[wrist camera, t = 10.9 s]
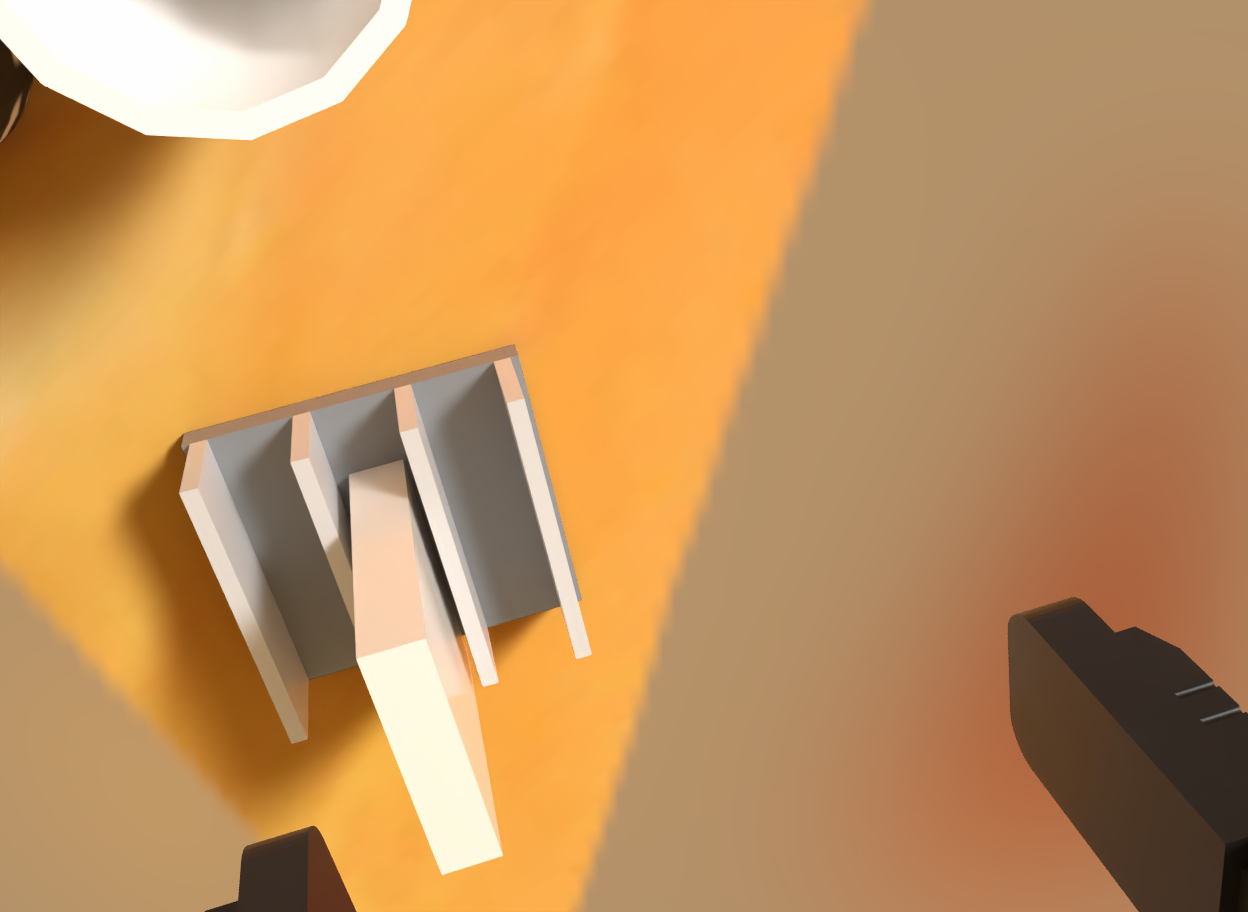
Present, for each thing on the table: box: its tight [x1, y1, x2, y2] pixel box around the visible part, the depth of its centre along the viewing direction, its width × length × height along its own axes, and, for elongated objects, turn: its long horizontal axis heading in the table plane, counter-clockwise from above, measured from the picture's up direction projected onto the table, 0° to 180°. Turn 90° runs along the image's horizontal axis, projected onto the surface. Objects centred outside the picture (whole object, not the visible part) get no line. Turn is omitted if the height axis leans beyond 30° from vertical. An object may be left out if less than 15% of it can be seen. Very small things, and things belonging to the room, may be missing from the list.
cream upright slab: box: [349, 459, 503, 875], centre depth 40 cm, size 9×2×11 cm, turn 12°
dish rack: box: [179, 345, 592, 744], centre depth 43 cm, size 11×12×4 cm
